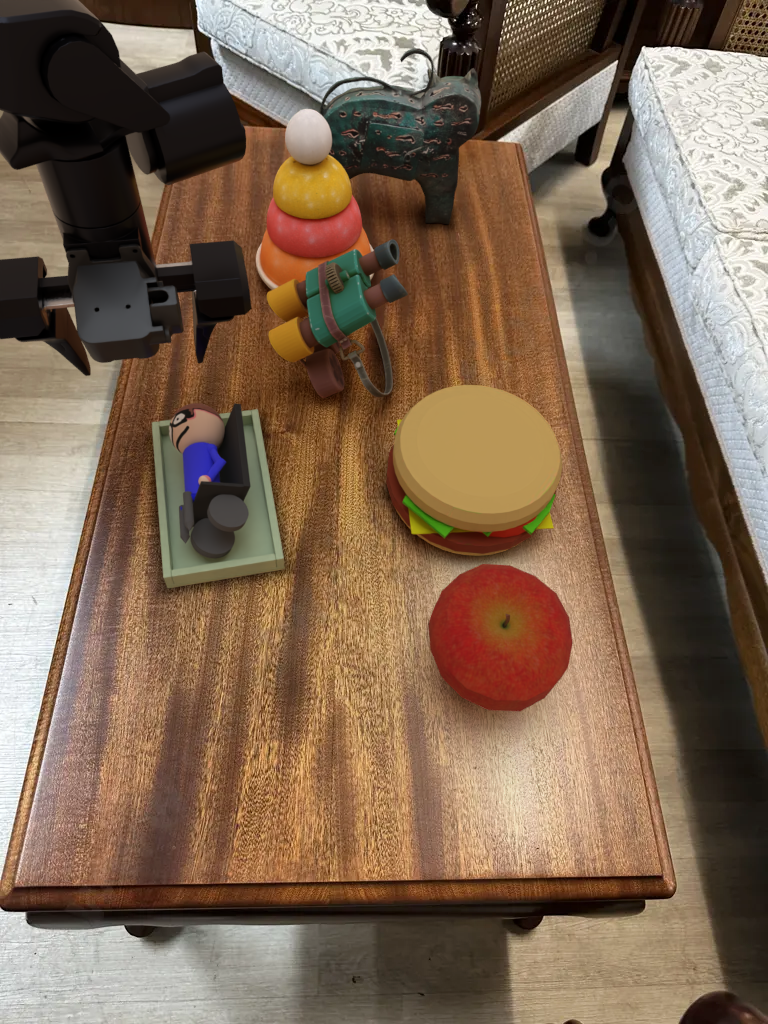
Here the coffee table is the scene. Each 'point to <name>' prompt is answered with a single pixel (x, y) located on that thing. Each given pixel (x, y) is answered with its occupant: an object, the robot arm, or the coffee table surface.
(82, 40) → the robot arm
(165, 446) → the tray
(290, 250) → the stacking toy
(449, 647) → the apple
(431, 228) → the coffee table surface
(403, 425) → the hamburger
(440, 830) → the coffee table surface
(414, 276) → the coffee table surface
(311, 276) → the binoculars
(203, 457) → the character figurine
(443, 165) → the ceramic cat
